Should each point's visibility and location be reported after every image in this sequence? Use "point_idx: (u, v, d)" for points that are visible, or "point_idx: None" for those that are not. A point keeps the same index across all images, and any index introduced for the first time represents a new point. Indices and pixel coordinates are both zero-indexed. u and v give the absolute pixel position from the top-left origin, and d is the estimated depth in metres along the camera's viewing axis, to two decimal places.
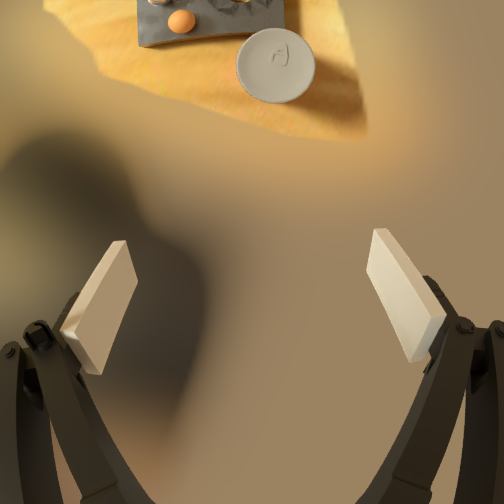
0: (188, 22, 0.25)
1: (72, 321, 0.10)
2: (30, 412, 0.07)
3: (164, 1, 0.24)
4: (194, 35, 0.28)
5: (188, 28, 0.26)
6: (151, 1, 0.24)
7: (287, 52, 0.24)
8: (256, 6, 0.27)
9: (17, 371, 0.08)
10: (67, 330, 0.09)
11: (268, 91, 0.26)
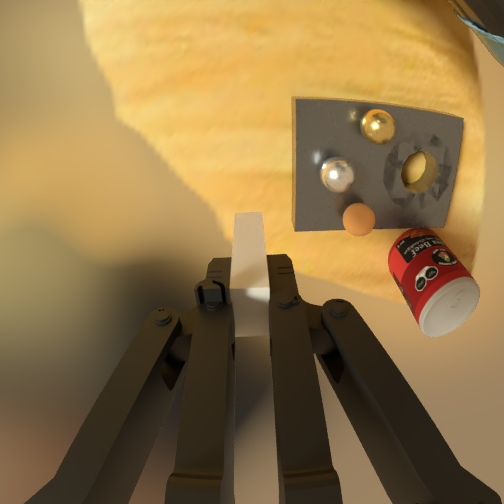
0: None
1: (240, 279, 0.12)
2: (156, 391, 0.09)
3: None
4: None
5: None
6: (329, 189, 0.25)
7: (462, 298, 0.25)
8: (428, 199, 0.28)
9: (163, 346, 0.09)
10: (239, 287, 0.11)
11: (436, 328, 0.27)
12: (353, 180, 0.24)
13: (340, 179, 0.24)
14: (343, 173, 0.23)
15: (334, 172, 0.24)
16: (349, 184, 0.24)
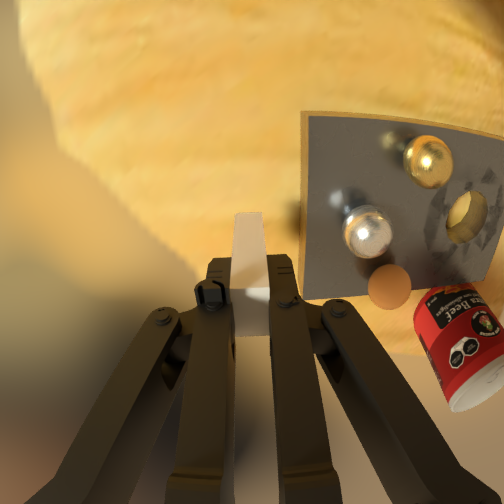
0: None
1: (240, 279, 0.12)
2: (156, 392, 0.09)
3: None
4: None
5: None
6: (356, 254, 0.17)
7: (501, 372, 0.17)
8: (472, 250, 0.20)
9: (164, 346, 0.09)
10: (240, 287, 0.11)
11: (466, 403, 0.19)
12: (390, 242, 0.16)
13: (373, 244, 0.16)
14: (378, 234, 0.15)
15: (365, 233, 0.16)
16: (385, 249, 0.16)
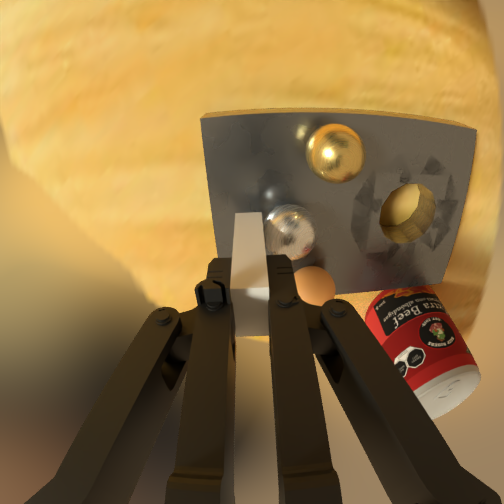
0: None
1: (241, 279, 0.12)
2: (157, 391, 0.09)
3: None
4: None
5: None
6: None
7: (456, 387, 0.17)
8: (420, 249, 0.20)
9: (164, 346, 0.09)
10: (240, 287, 0.11)
11: None
12: (317, 235, 0.17)
13: (306, 243, 0.16)
14: (309, 232, 0.16)
15: (296, 235, 0.16)
16: (315, 243, 0.17)
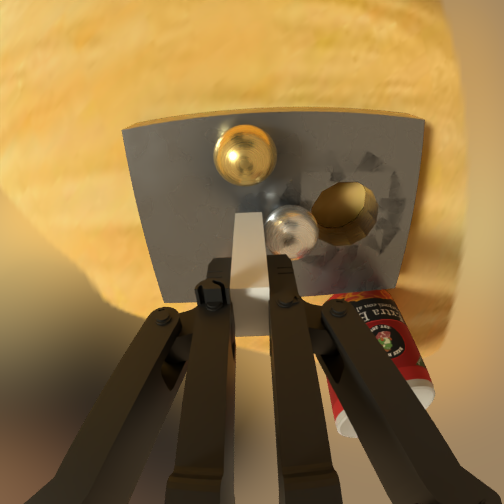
0: None
1: (240, 279, 0.12)
2: (156, 392, 0.09)
3: None
4: None
5: None
6: None
7: None
8: (364, 253, 0.20)
9: (164, 346, 0.09)
10: (240, 287, 0.11)
11: None
12: None
13: None
14: None
15: None
16: None
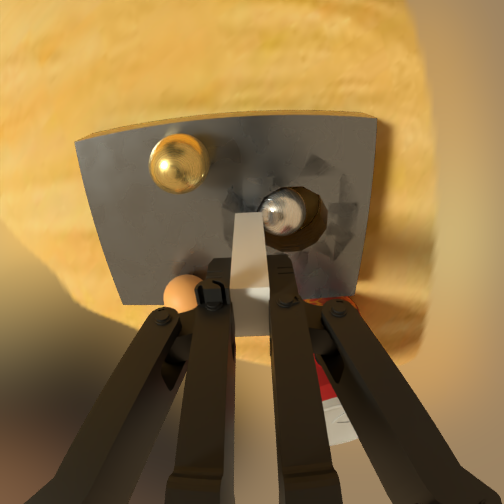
0: None
1: (240, 279, 0.12)
2: (156, 391, 0.09)
3: (283, 235, 0.19)
4: None
5: None
6: None
7: None
8: (316, 259, 0.20)
9: (163, 346, 0.09)
10: (240, 287, 0.11)
11: None
12: (284, 217, 0.18)
13: (262, 211, 0.18)
14: (267, 203, 0.18)
15: None
16: (276, 221, 0.18)
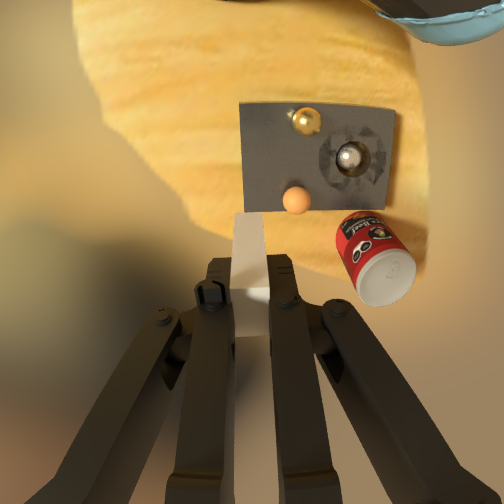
0: (306, 208, 0.33)
1: (240, 279, 0.12)
2: (156, 392, 0.09)
3: (351, 168, 0.33)
4: None
5: None
6: (339, 164, 0.34)
7: (398, 270, 0.31)
8: (365, 183, 0.34)
9: (163, 346, 0.09)
10: (240, 287, 0.11)
11: (376, 298, 0.33)
12: (354, 158, 0.32)
13: (342, 155, 0.32)
14: (345, 151, 0.32)
15: (340, 150, 0.32)
16: (351, 160, 0.32)
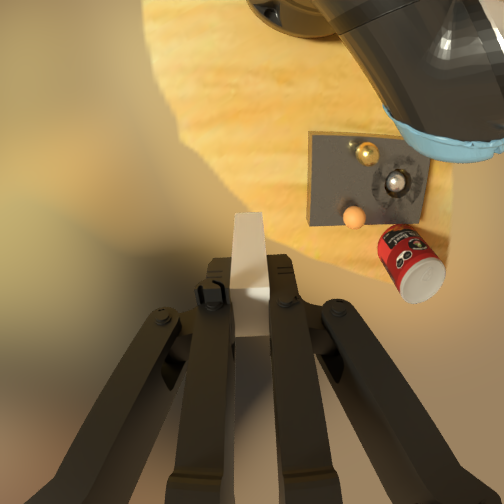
0: (363, 224, 0.39)
1: (240, 279, 0.12)
2: (156, 391, 0.09)
3: (398, 191, 0.39)
4: None
5: None
6: (388, 188, 0.39)
7: (432, 274, 0.37)
8: (405, 202, 0.40)
9: (163, 346, 0.09)
10: (240, 287, 0.11)
11: (414, 297, 0.39)
12: (402, 184, 0.38)
13: (393, 182, 0.38)
14: (395, 178, 0.38)
15: (390, 177, 0.38)
16: (399, 186, 0.38)
